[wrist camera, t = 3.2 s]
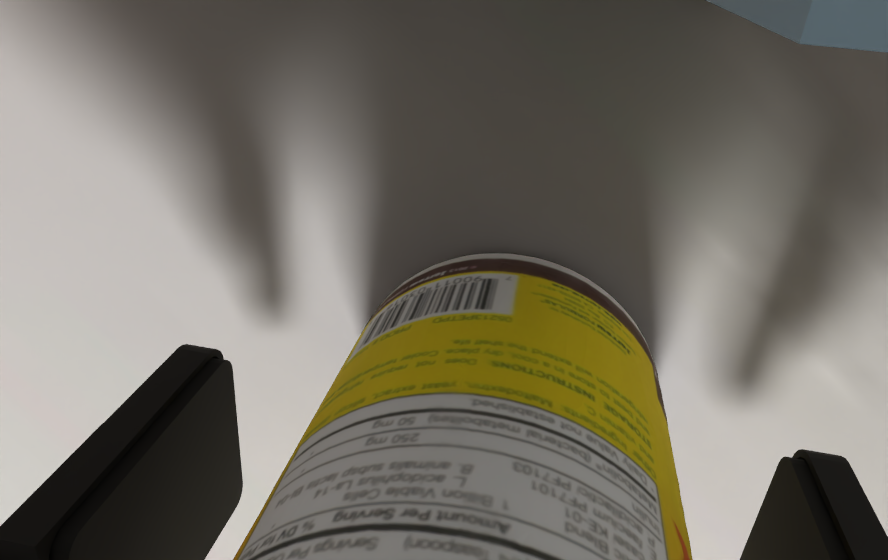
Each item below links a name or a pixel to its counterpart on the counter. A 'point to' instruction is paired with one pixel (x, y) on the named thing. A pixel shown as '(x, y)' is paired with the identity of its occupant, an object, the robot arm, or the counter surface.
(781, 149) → the counter surface
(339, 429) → the supplement bottle
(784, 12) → the tray
